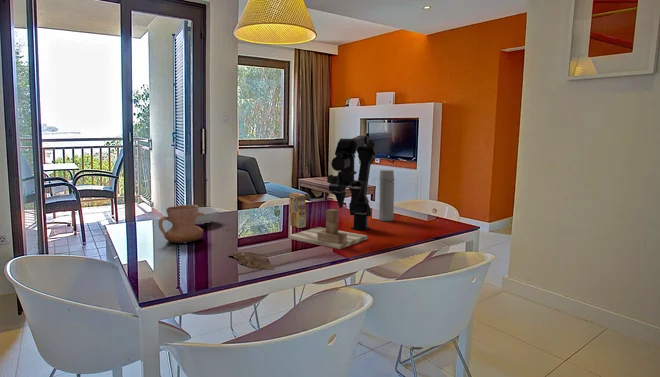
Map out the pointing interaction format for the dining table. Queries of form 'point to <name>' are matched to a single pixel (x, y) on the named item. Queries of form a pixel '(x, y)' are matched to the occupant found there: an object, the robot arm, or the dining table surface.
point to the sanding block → (332, 229)
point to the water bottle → (386, 195)
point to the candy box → (297, 210)
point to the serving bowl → (206, 215)
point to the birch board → (311, 237)
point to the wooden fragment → (253, 260)
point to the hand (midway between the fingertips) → (347, 206)
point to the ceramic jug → (182, 224)
